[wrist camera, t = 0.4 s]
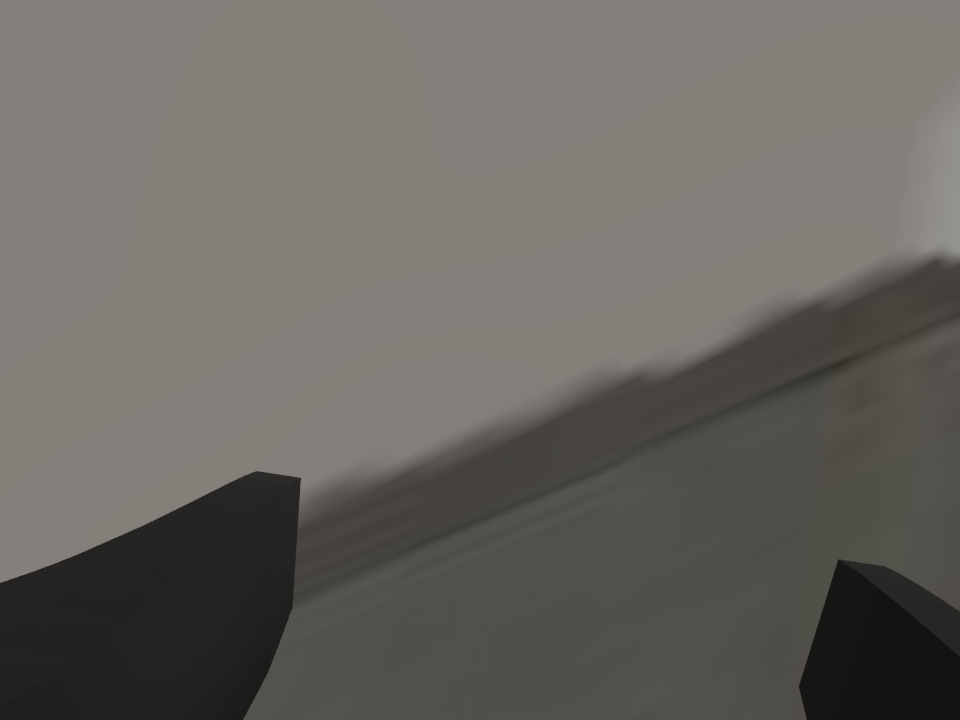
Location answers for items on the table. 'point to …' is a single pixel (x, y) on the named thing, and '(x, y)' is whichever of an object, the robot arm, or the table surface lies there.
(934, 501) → the table surface
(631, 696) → the table surface
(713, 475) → the table surface
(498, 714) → the table surface
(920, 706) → the robot arm
